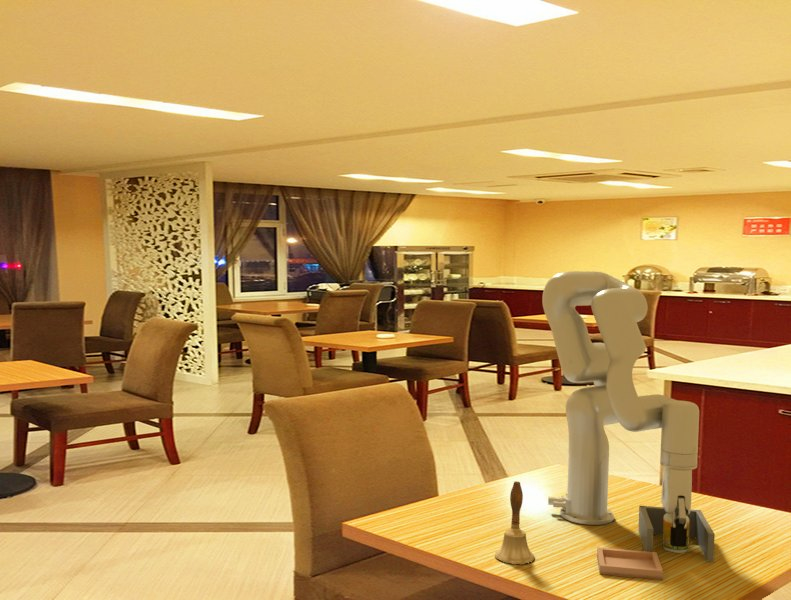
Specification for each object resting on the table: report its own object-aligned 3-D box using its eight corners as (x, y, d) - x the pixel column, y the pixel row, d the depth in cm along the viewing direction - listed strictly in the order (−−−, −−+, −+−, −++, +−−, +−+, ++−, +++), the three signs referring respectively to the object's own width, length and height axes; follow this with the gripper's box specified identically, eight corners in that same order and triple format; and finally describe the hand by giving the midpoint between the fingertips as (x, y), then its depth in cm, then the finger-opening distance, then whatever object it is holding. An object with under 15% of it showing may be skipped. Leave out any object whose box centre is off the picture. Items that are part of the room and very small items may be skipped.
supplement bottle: (679, 543, 174) (680, 501, 174) (693, 552, 169) (695, 509, 168) (657, 545, 173) (659, 502, 172) (671, 554, 168) (672, 510, 167)
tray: (599, 574, 157) (600, 565, 156) (596, 555, 166) (597, 547, 166) (662, 580, 154) (663, 571, 154) (656, 560, 164) (656, 552, 164)
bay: (646, 556, 166) (647, 528, 166) (638, 531, 182) (639, 505, 181) (713, 562, 164) (714, 534, 163) (699, 536, 179) (700, 510, 179)
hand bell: (492, 549, 169) (494, 476, 168) (531, 550, 169) (533, 477, 168) (496, 564, 161) (498, 487, 160) (537, 565, 160) (539, 488, 160)
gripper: (655, 448, 179) (652, 525, 180) (666, 467, 162) (663, 553, 163) (690, 450, 177) (687, 528, 179) (704, 470, 161) (701, 556, 162)
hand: (675, 539), depth 171 cm, fingers open, 5 cm apart
